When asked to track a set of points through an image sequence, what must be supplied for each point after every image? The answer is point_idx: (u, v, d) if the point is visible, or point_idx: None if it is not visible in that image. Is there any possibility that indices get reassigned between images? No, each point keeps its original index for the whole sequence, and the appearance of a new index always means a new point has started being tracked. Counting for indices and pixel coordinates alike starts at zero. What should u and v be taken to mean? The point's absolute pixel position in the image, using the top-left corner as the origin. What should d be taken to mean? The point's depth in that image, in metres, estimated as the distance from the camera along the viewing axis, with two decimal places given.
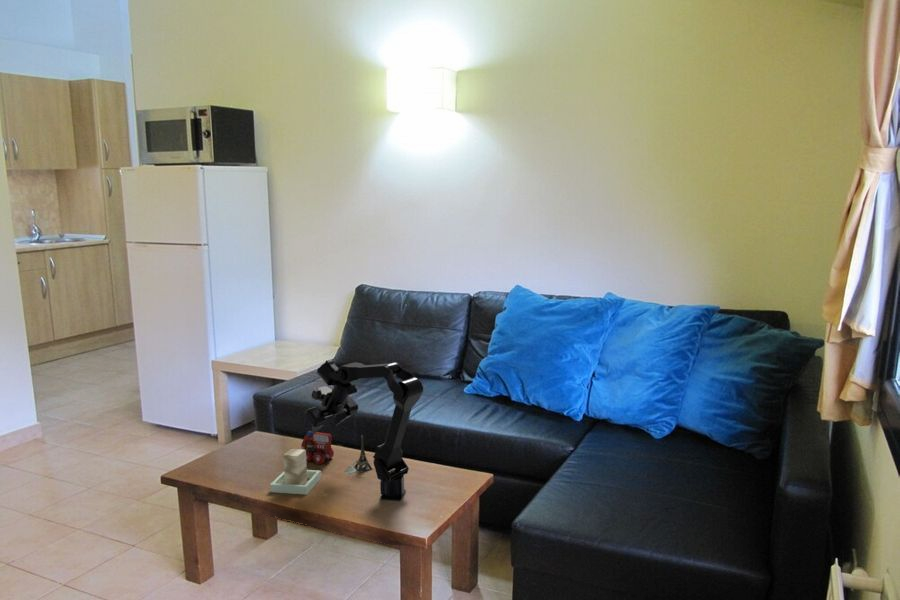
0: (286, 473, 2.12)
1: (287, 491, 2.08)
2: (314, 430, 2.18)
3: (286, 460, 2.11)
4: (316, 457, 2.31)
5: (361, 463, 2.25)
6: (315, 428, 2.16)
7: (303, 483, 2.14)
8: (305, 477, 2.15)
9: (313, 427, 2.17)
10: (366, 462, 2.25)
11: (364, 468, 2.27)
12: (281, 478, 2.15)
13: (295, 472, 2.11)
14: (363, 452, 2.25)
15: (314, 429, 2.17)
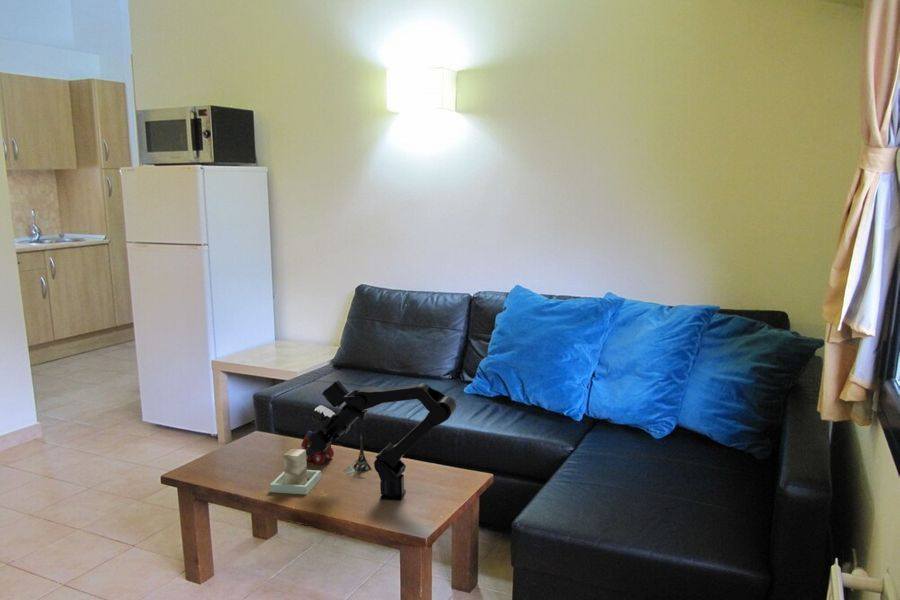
0: (286, 473, 2.12)
1: (287, 491, 2.08)
2: (311, 453, 2.05)
3: (286, 460, 2.11)
4: (316, 457, 2.31)
5: (360, 463, 2.25)
6: (314, 451, 2.04)
7: (303, 483, 2.14)
8: (305, 477, 2.15)
9: (310, 450, 2.05)
10: (365, 462, 2.25)
11: (363, 468, 2.26)
12: (281, 478, 2.15)
13: (295, 472, 2.11)
14: (362, 452, 2.25)
15: (311, 452, 2.05)
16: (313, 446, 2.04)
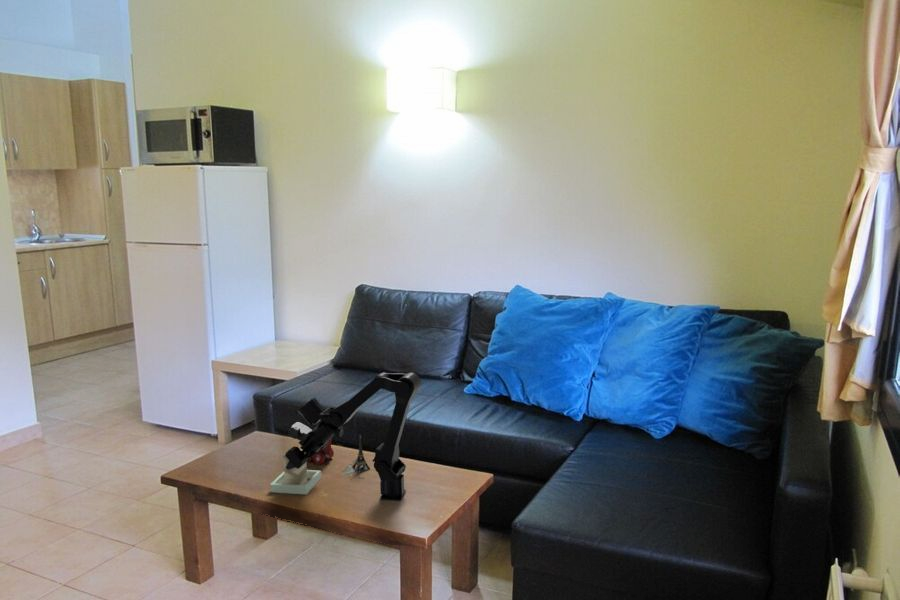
0: (286, 472, 2.12)
1: (287, 491, 2.08)
2: (290, 467, 2.10)
3: (286, 460, 2.11)
4: (316, 457, 2.31)
5: (359, 463, 2.24)
6: (293, 465, 2.09)
7: (303, 483, 2.14)
8: (305, 477, 2.15)
9: (290, 464, 2.09)
10: (364, 462, 2.25)
11: (362, 468, 2.26)
12: (281, 478, 2.15)
13: (295, 472, 2.11)
14: (361, 452, 2.25)
15: (291, 466, 2.09)
16: None
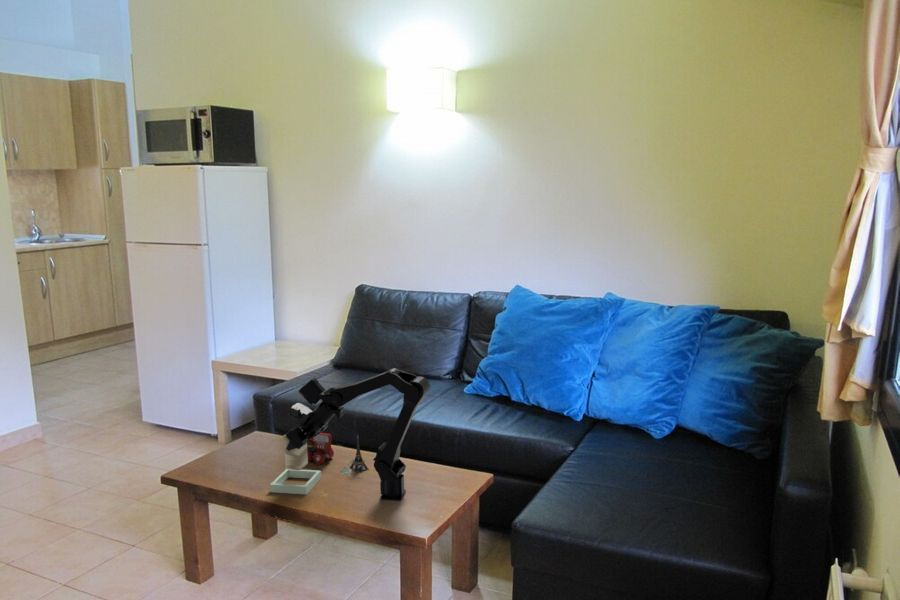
0: (286, 454, 2.10)
1: (287, 491, 2.08)
2: (290, 448, 2.09)
3: (286, 441, 2.10)
4: (316, 457, 2.31)
5: (357, 463, 2.24)
6: (293, 446, 2.08)
7: (303, 464, 2.12)
8: (305, 458, 2.14)
9: (290, 445, 2.08)
10: (362, 462, 2.25)
11: (360, 468, 2.26)
12: (281, 478, 2.15)
13: (296, 453, 2.09)
14: (359, 452, 2.25)
15: (291, 447, 2.08)
16: None
